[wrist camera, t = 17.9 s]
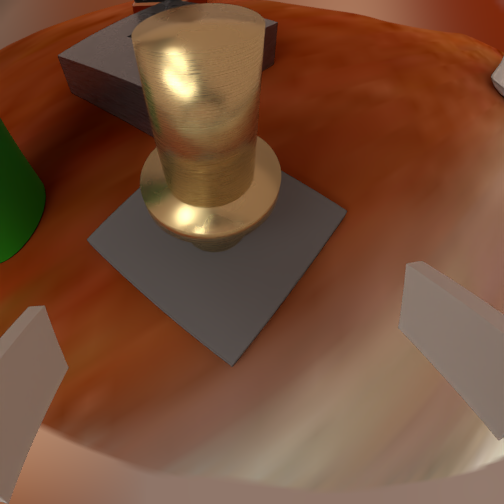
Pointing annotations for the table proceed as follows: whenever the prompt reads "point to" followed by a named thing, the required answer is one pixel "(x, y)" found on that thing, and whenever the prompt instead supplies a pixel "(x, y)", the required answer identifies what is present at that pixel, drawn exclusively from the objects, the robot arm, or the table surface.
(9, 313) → the table surface
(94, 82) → the plate
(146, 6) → the whiskey bottle
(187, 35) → the brass flanged peg
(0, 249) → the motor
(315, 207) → the charcoal mat
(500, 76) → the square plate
